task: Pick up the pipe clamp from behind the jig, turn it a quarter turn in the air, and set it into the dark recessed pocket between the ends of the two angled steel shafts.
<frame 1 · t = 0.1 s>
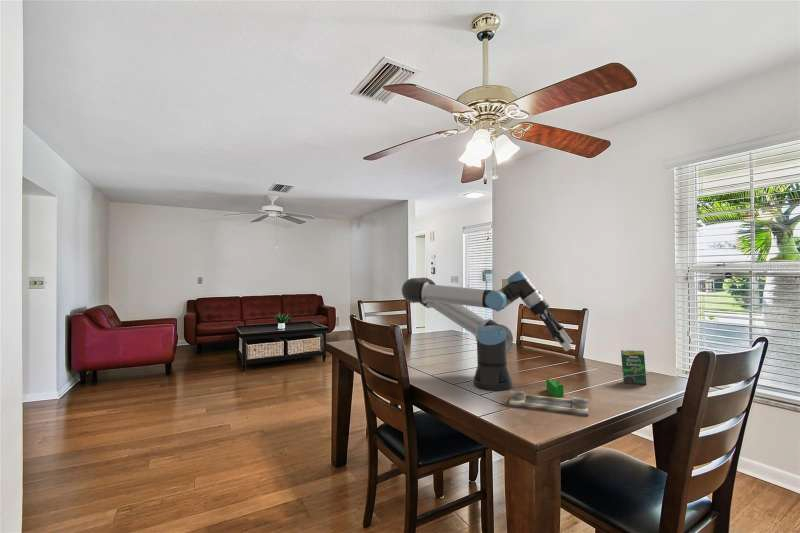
hand: (569, 346, 149), 15 cm above the table, tool tilted 35°, fingers open, 13 cm apart
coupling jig: (548, 405, 124), on the table
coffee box: (634, 383, 148), on the table
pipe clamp: (555, 395, 135), on the table
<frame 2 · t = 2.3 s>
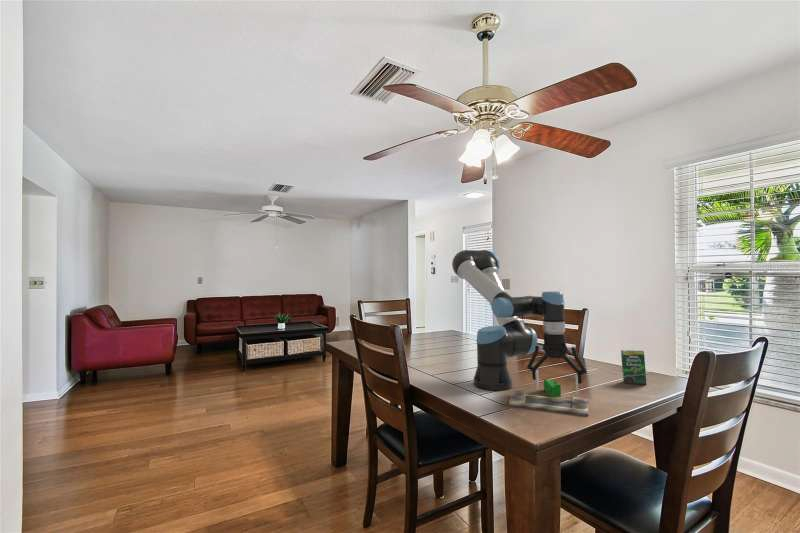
hand: (557, 390, 135), 2 cm above the table, tool pointing down, fingers open, 13 cm apart
nothing on the table moved.
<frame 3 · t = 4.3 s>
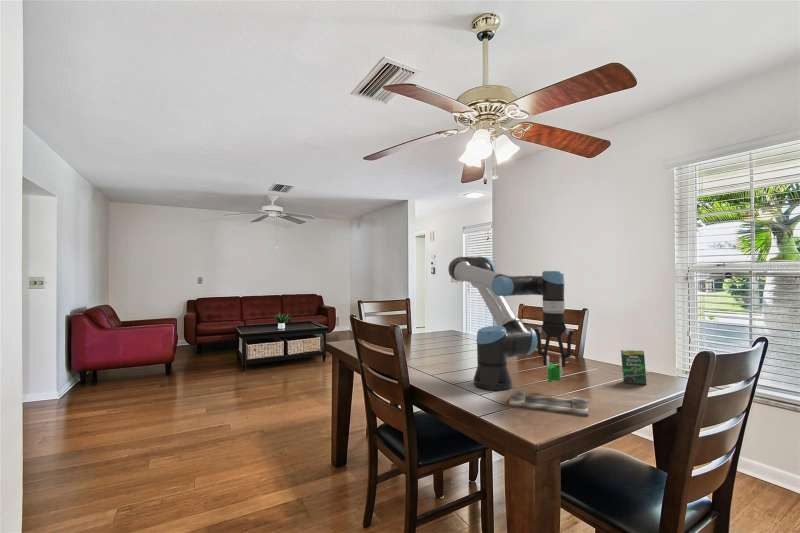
hand: (554, 374, 136), 7 cm above the table, tool pointing down, fingers closed on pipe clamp, 4 cm apart
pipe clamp: (554, 379, 136), point 6 cm above the table, touching gripper
everything else where it was.
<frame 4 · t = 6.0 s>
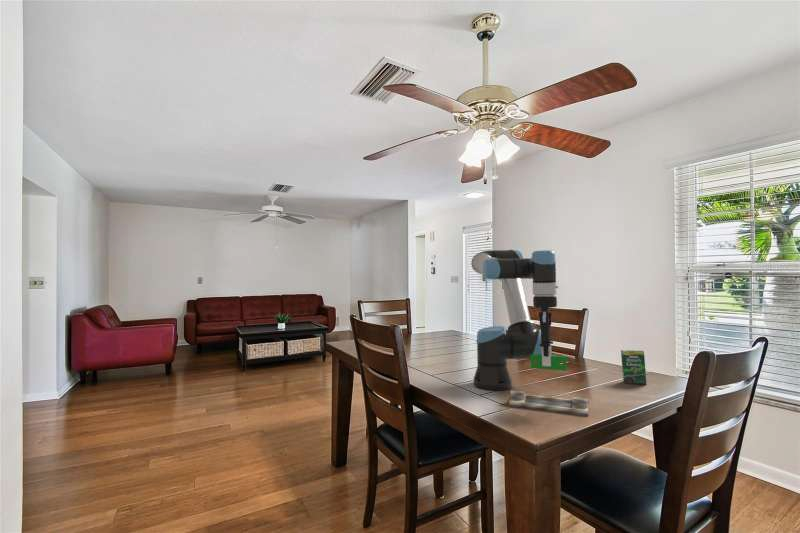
hand: (547, 364, 124), 14 cm above the table, tool pointing down, fingers closed on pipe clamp, 4 cm apart
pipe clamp: (549, 368, 124), point 12 cm above the table, touching gripper
everything else where it was.
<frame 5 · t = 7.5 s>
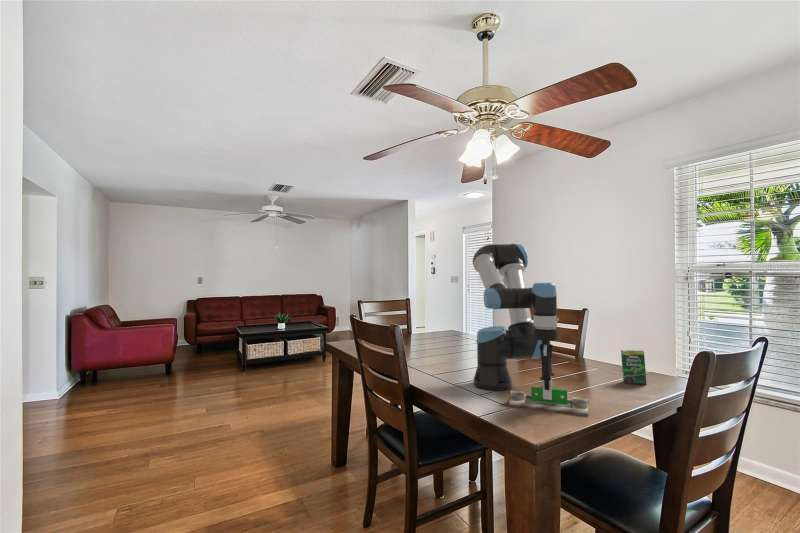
hand: (547, 397, 124), 3 cm above the table, tool pointing down, fingers closed on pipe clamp, 4 cm apart
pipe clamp: (550, 401, 123), point 1 cm above the table, touching gripper
everything else where it was.
when the fingers open (2 cm above the table, at t = 8.0 s): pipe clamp stays where it is, resting on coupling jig.
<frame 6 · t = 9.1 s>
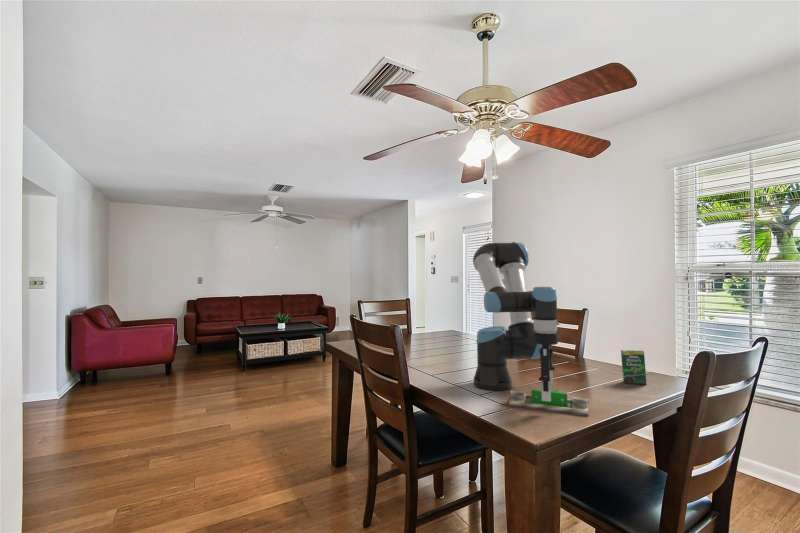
hand: (547, 394, 124), 4 cm above the table, tool pointing down, fingers open, 13 cm apart
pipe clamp: (549, 404, 123), resting on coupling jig
everything else where it was.
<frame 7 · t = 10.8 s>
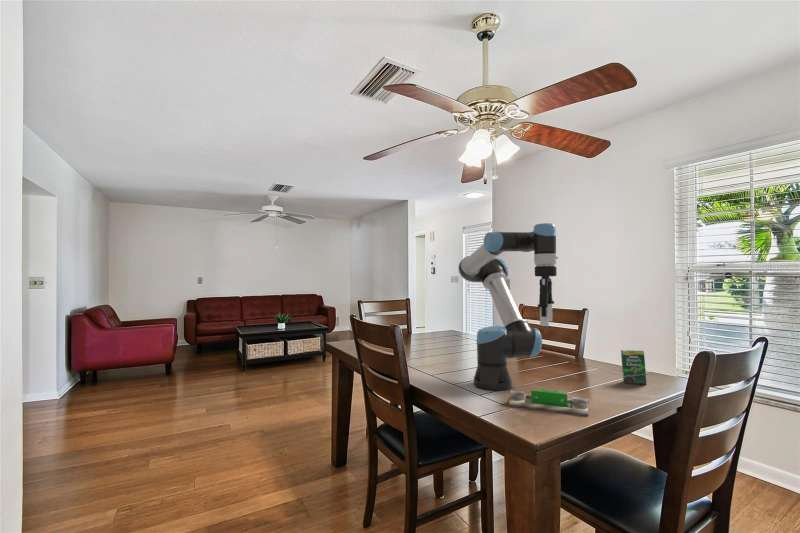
hand: (546, 323, 134), 27 cm above the table, tool pointing down, fingers open, 13 cm apart
nothing on the table moved.
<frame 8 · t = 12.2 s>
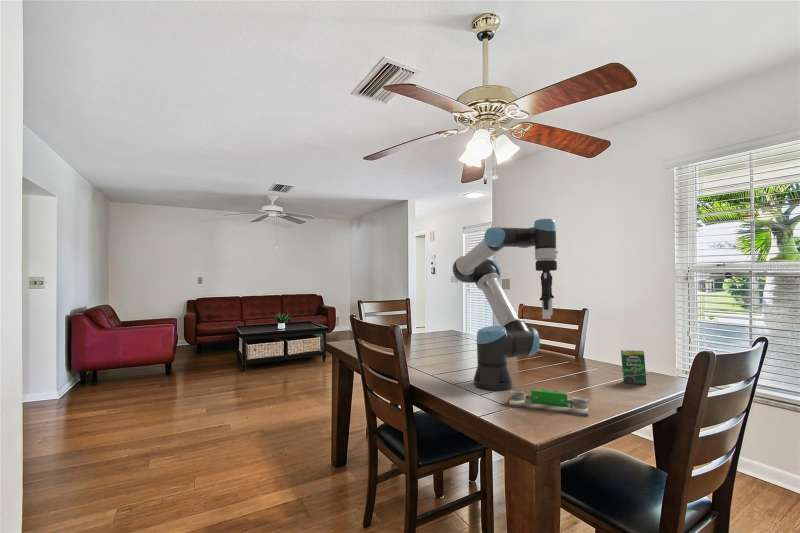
hand: (547, 317, 136), 29 cm above the table, tool pointing down, fingers open, 13 cm apart
nothing on the table moved.
at the end: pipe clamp 1.0 cm off-centre on the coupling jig, point 0.5 cm above the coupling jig's base; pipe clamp touching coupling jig; the gripper is holding nothing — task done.
